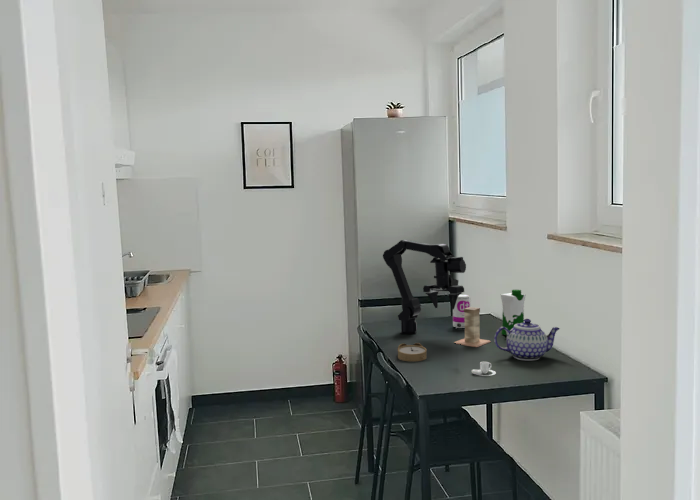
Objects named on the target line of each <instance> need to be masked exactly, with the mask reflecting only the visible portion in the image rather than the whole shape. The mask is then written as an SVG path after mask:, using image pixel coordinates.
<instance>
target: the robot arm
mask: <svg viewBox="0 0 700 500" xmlns="http://www.w3.org/2000/svg"><path fill="white" fill-rule="evenodd" d="M407 250H408V251H412V252H413V251H414V252H419V253H425V254H427V255H429V256H431V257H433V258H432V259H431V260H430V264H434V268H435V275H434V276H433V279H435V284H433V283H431V284H427V285H424V286H423V287H422V290H423V291H422V292H423V293H425V295H427V296H428V299H430V301H431V304H432V305H433V306H434V308H435V309H438V306H439V303H438V294H439V292H449V294H448V298H449V299H448V300H449V303H450V308H451V310H453V309H454V307H455V304H456V300H457V298H458V296H459V295H460V294H463V293H465V287H464V286H463V285H459V279H455V278H453V277H452V274H464V273H465V272H466V270H467V264H466V262H465V260H464V257H463V256H458V257H457V256H456V257H455V255H454V253H452V252H451V250H450V247H449V246H448V244H446V243H427V242H426V243H425V242H419V241H415V240H414V241H412V240H409V239H401V240H399V241H398V242H397V243H396V244H394V245H393V246H392V247H390V248H389V249H386V250H384V251H383V254H382V259H383V260H384V262H385V264H386V266H387V267H388V268H390V270H391V272H392V275H393V277H394V280H395V283H396V286H397V289H398V291H399V294H400V296H401V312H400V313H399V314H398V315H397V318H398V320H399V321H400V334H403V335H406V334H407V335H408V334H411V335H415V334H416V332H417V331H418V330H417V329H418V327H417V326H418V325H417V324H418V322H417V321H416V319H417V318H418V316H419V314H420V313H421V311H422V305H421V302H420V299H419V298H418V297H414V296H413V293H412V291H411V288H410V285H409V283H408V280H407V278H406V275H405V272H404V270H403V269H404V268H403V266H402V264H403V257H402V255H404V254H405V252H406V251H407ZM450 273H451V274H450Z"/></svg>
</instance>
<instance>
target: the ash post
mask: <svg viewBox="0 0 700 500" xmlns="http://www.w3.org/2000/svg"><path fill="white" fill-rule="evenodd" d="M480 312H481V308H480V307H473V306H471V307H468V308H465V309H464V314H465V329H464V338H465V342H470V343H476V342H478V341H480V339H481V338H480V333H481V332H480V331H481V330H480V328H481V327H480V326H481V325H480V321H481V320H480Z"/></svg>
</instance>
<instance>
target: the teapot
mask: <svg viewBox="0 0 700 500" xmlns="http://www.w3.org/2000/svg"><path fill="white" fill-rule="evenodd" d="M503 329H504V330H505V331H506V333H507V335H506V347H502V346H501V345H499V343H498V336H499V333H500V332H502V330H503ZM560 329H561V328H559V327H557V326H553V327H551V329H550V332H548V334H546V333H545V331H544V330H542V328H541V325H540V324H537V323H533V322H532V320H531V319H530V318H524V323H518V324H515V325H514V327H513V328H512V329H511V330H510V331H509V330H508V329H507V328H506V327H502V326H499V328H497V330H496V332H495V333H494V337H493V341H494V344H495V346H496V347H497V348H498V349H499V350H501V351H504V352H507V353H509V354H511V355H512V357H513V358H514V359H515V360H516V359H517V360H520V361H537V360H539V359H540V358H541V357H543V356H544V355H545V354H546V353H547V352H550V351H551V350H552V348H553V346H554V343H555V336H556V334H557V331H559V330H560Z"/></svg>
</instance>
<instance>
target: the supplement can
mask: <svg viewBox="0 0 700 500" xmlns="http://www.w3.org/2000/svg"><path fill="white" fill-rule="evenodd" d="M471 301H472V300H471V297H470V295H469V294H463V293H462V294H460V295H459V296H458V298H457V300H456V304H455V307H454V309H452V327H456V328H455V329H457V328H465V314H464V309H465V308H468V307H472V305H471Z"/></svg>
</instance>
